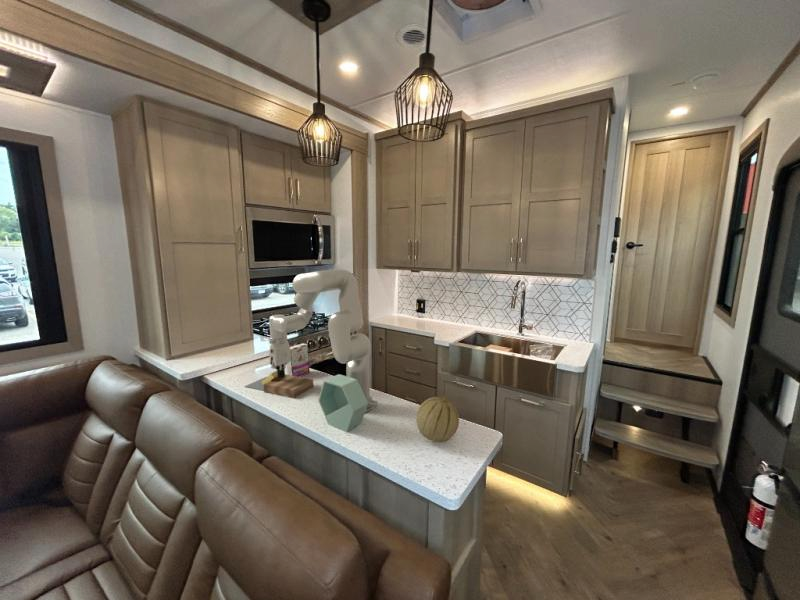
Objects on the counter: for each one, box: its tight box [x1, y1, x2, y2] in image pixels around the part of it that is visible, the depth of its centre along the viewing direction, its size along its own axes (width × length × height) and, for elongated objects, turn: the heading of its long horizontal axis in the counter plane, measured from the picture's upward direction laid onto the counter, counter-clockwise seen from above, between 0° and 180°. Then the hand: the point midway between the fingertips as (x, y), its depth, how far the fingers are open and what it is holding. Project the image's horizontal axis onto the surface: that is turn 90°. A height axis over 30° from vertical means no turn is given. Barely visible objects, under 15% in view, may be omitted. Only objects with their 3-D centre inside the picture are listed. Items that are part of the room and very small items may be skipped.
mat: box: [244, 376, 268, 392], centre depth 165 cm, size 14×14×1 cm
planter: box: [317, 373, 368, 433], centre depth 124 cm, size 17×8×21 cm
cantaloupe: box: [415, 396, 460, 443], centre depth 113 cm, size 15×15×15 cm
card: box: [261, 370, 278, 386], centre depth 162 cm, size 9×6×2 cm
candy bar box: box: [286, 343, 310, 377], centre depth 176 cm, size 11×5×16 cm, turn 143°
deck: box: [263, 373, 314, 399], centre depth 158 cm, size 18×14×4 cm
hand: (281, 377), depth 159 cm, fingers closed
